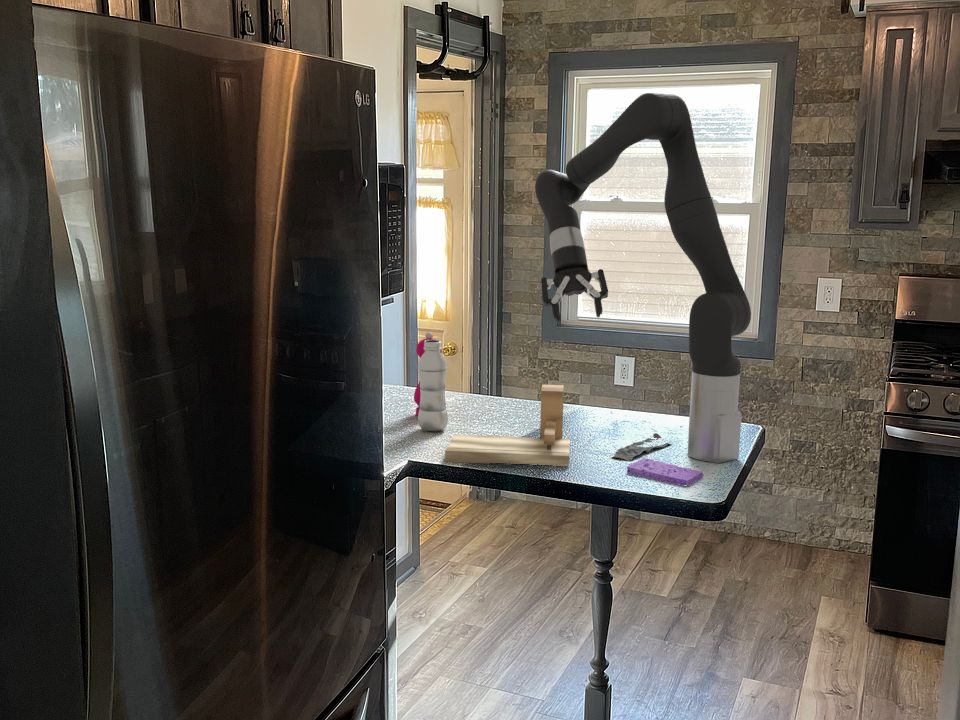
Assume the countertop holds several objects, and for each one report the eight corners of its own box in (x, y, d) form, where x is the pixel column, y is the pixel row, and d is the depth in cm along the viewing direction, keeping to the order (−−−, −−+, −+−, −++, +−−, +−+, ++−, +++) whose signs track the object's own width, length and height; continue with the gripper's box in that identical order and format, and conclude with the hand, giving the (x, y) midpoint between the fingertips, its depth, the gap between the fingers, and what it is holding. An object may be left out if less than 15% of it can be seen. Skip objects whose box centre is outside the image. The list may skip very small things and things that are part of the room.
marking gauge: (541, 439, 187) (542, 384, 185) (562, 440, 186) (563, 385, 184) (536, 464, 169) (538, 404, 167) (560, 465, 169) (561, 404, 167)
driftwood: (627, 465, 171) (628, 455, 171) (599, 458, 176) (599, 448, 175) (681, 446, 186) (682, 436, 186) (654, 440, 191) (654, 430, 190)
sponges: (643, 466, 170) (643, 457, 170) (703, 480, 162) (704, 470, 162) (625, 475, 165) (625, 465, 164) (687, 489, 157) (687, 479, 157)
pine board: (454, 444, 182) (454, 434, 182) (569, 449, 179) (570, 439, 179) (445, 461, 170) (445, 450, 170) (568, 467, 168) (569, 455, 167)
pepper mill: (443, 419, 203) (443, 334, 199) (412, 419, 203) (412, 334, 199) (445, 412, 210) (445, 329, 206) (415, 411, 210) (415, 329, 206)
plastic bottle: (441, 435, 189) (442, 344, 185) (413, 432, 191) (412, 342, 187) (452, 428, 195) (452, 339, 191) (424, 425, 197) (424, 338, 193)
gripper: (535, 249, 191) (545, 317, 185) (600, 239, 190) (612, 307, 184) (537, 264, 198) (546, 330, 192) (599, 254, 197) (611, 320, 191)
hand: (578, 318), depth 188 cm, fingers open, 8 cm apart
